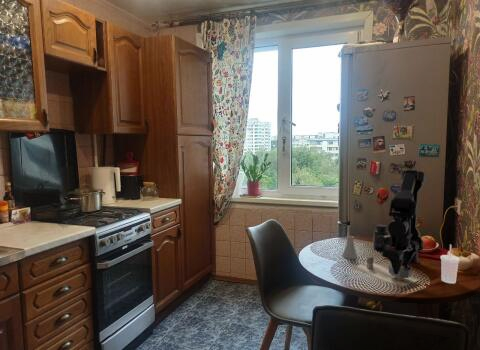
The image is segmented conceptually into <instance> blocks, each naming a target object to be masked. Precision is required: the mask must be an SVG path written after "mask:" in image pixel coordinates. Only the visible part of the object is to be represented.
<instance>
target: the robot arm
mask: <svg viewBox="0 0 480 350" xmlns="http://www.w3.org/2000/svg"><path fill="white" fill-rule="evenodd" d="M400 180H401V181H402V182H401V185H400V189H399V191H398V192H396V193H395V194H394V196H393V198H391V201H390V206H389V212H388V217H392V221H391V222H390V223H389V224H388V226H387V231H388V233H389V235H386V236H383V235H381V236H377V239H376V243H377V244H378V245H379V246H383V245H389V247H388V248H386V249H384V250H383V251H382V252H381V256H382V257H383V258H386V259H388V260H389V262H390V265H392V268H393V271H394V274H398V272H399V270H400V268H401V265H406V266H408V267H409V263H411V264H412V263H413V264H416V265H419V264H421V261H420V260H418V257H419V256H418V254H419V252H421V251H423V250H424V240H423V238H422V236H421V231H420V230H419V228H418V227H417V223H418V206H419V204H418V203H419V192H420V190H421V189H423V186H424V183H425V182H426V173H425V172H423V171H422V170H417V169H404V170H403V171H401V178H400Z"/></svg>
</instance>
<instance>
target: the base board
mask: <svg viewBox="0 0 480 350" xmlns="http://www.w3.org/2000/svg"><path fill="white" fill-rule="evenodd" d="M350 268H352V269H353V270H355V271H359V272H362V273H364V274H367V275H369V276H372V277H374V278H377V279H379V280H381V281H384V282H386V283H389V284H391V285H395V286H396V287H400V288H403V287H406V286H408V285H410V284H414V283H416V282H418V281H420V280H421V278H420V279H419V278H417V277H414V276H412V275H411V276H410V277H409V278H399V277H396V276H392V275H391V274H390V273H389V267H387V266H384V265H381V264H378V263H375V262H374V256H370V255H368V256H366V262H364V263H362V264H361V263H360V264H358V265H354V266H351V267H350ZM400 270H404V268H403V267H401V268H400Z"/></svg>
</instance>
